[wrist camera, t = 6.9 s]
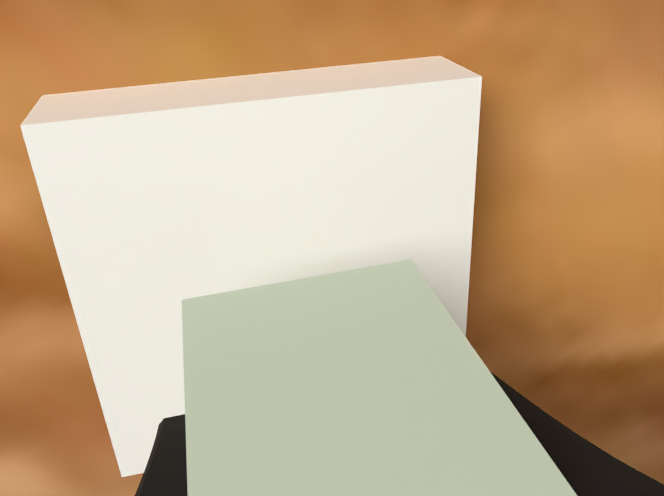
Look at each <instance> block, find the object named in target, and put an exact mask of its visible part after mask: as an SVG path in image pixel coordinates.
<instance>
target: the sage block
mask: <svg viewBox="0 0 664 496" xmlns="http://www.w3.org/2000/svg"><path fill="white" fill-rule="evenodd" d="M182 329H183V361H184V394H185V427H186V460H187V492H188V496H577V495H576V493H575V492H574V490H573V489H572V488H571V486H570V485H569V483H568V482H567V480H566V479H565V478H564V476H563V475H562V473H561V472H560V470H559V469H558V468H557V466H556V465H555V463H554V462H553V461H552V459H551V458H550V456H549V455H548V453H547V452H546V451H545V449H544V448H543V446H542V445H541V443H540V442H539V441H538V439H537V438H536V436H535V435H534V434H533V432H532V431H531V429H530V428H529V426H528V425H527V424H526V422H525V421H524V419H523V418H522V417H521V415H520V414H519V412H518V411H517V409H516V408H515V407H514V405H513V404H512V402H511V401H510V399H509V398H508V397H507V395H506V394H505V392H504V391H503V390H502V388H501V387H500V385H499V384H498V382H497V381H496V380H495V378H494V377H493V375H492V374H491V372H490V371H489V370H488V368H487V367H486V365H485V364H484V363H483V361H482V360H481V358H480V357H479V355H478V354H477V353H476V351H475V350H474V348H473V347H472V346H471V344H470V343H469V341H468V340H467V338H466V337H465V336H464V334H463V333H462V331H461V330H460V328H459V327H458V326H457V324H456V323H455V321H454V320H453V319H452V317H451V316H450V314H449V313H448V311H447V310H446V309H445V307H444V306H443V304H442V303H441V301H440V300H439V299H438V297H437V296H436V294H435V293H434V292H433V290H432V289H431V287H430V286H429V284H428V283H427V282H426V280H425V279H424V277H423V276H422V275H421V273H420V272H419V270H418V269H417V267H416V266H415V265H414V263H413V262H412V260H411V259H410V260H404V261H398V262H393V263H387V264H381V265H376V266H370V267H364V268H359V269H353V270H347V271H342V272H336V273H330V274H325V275H319V276H313V277H308V278H302V279H296V280H291V281H285V282H279V283H274V284H268V285H262V286H257V287H251V288H245V289H240V290H234V291H228V292H223V293H217V294H211V295H205V296H200V297H194V298H188V299H183V300H182Z"/></svg>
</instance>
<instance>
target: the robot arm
mask: <svg viewBox="0 0 664 496" xmlns="http://www.w3.org/2000/svg"><path fill="white" fill-rule="evenodd" d="M491 374H492V375H493V377H494V378H495V380H496V381H497V382H498V384H499V385H500V387H501V388H502V390H503V391H504V392H505V394H506V395H507V397H508V398H509V399H510V401H511V402H512V404H513V405H514V407H515V408H516V409H517V411H518V412H519V414H520V415H521V417H522V418H523V419H524V421H525V422H526V424H527V425H528V426H529V428H530V429H531V431H532V432H533V434H534V435H535V436H536V438H537V439H538V441H539V442H540V443H541V445H542V446H543V448H544V449H545V451H546V452H547V453H548V455H549V456H550V458H551V459H552V461H553V462H554V463H555V465H556V466H557V468H558V469H559V470H560V472H561V473H562V475H563V476H564V478H565V479H566V480H567V482H568V483H569V485H570V486H571V488H572V489H573V490H574V492H575V493H576V495H577V496H664V485H663V484H661V483H659V482H658V481H656V480H654V479H652V478H650V477H648V476H646V475H645V474H643V473H641V472H639V471H637V470H635V469H634V468H632V467H630V466H628V465H626V464H625V463H623V462H621V461H620V460H618V459H616V458H614V457H613V456H611V455H609V454H608V453H606V452H605V451H603V450H601V449H600V448H598V447H597V446H595V445H594V444H592V443H590V442H589V441H587V440H586V439H584V438H582V437H581V436H579V435H578V434H576V433H575V432H573V431H572V430H570V429H569V428H567V427H566V426H564V425H563V424H561V423H560V422H558V421H557V420H556V419H554V418H553V417H551V416H550V415H548V414H547V413H546V412H544V411H543V410H541V409H540V408H538V407H537V406H536V405H534V404H533V403H532V402H530V401H529V400H527V399H526V398H525V397H523V396H522V395H521V394H519V393H518V392H517V391H515V390H514V389H513V388H511V387H510V386H509V385H507V384H506V383H505V382H503V381H502V380H501V379H499V378H498V377H497V376H495V375H494V374H493V373H491ZM135 496H188V492H187V460H186V427H185V414H182V415H178V416H173V417H168V418H164V419H163V420H162V421H161V423H160V424H159V426H158V430H157V434H156V438H155V441H154V444H153V448H152V451H151V454H150V457H149V460H148V463H147V465H146V468H145V471H144V474H143V476H142V479H141V482H140V484H139V487H138V489H137V492H136V494H135Z"/></svg>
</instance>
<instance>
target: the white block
mask: <svg viewBox="0 0 664 496" xmlns="http://www.w3.org/2000/svg"><path fill="white" fill-rule="evenodd" d="M481 85H482V76H480V75H478V74H476V73H474V72H472V71H470V70H468V69H466V68H464V67H462V66H460V65H458V64H456V63H454V62H452V61H450V60H448V59H446V58H444V57H442V56H434V57H424V58H414V59H403V60H393V61H383V62H373V63H363V64H353V65H343V66H333V67H323V68H313V69H303V70H293V71H282V72H272V73H262V74H252V75H242V76H232V77H222V78H212V79H202V80H192V81H182V82H172V83H161V84H151V85H141V86H131V87H121V88H111V89H101V90H91V91H81V92H71V93H61V94H51V95H42V97H41V98H40V99H39V101H38V102H37V103H36V105H35V106H34V107H33V109H32V110H31V112H30V113H29V114H28V116H27V117H26V118H25V120H24V121H23V122H22V124H21V125H20V126H21V130H22V133H23V137H24V140H25V144H26V147H27V151H28V154H29V158H30V161H31V164H32V168H33V171H34V175H35V178H36V182H37V185H38V189H39V192H40V196H41V199H42V203H43V206H44V209H45V213H46V216H47V220H48V223H49V227H50V230H51V234H52V237H53V241H54V244H55V248H56V251H57V254H58V258H59V261H60V265H61V268H62V272H63V275H64V279H65V282H66V286H67V289H68V292H69V296H70V299H71V303H72V306H73V310H74V313H75V317H76V320H77V324H78V327H79V331H80V334H81V337H82V341H83V344H84V348H85V351H86V355H87V358H88V362H89V365H90V369H91V372H92V376H93V379H94V382H95V386H96V389H97V393H98V396H99V400H100V403H101V407H102V410H103V414H104V417H105V421H106V424H107V427H108V431H109V434H110V438H111V441H112V445H113V448H114V452H115V455H116V459H117V462H118V465H119V469H120V472H121V476H122V477H125V476H130V475H135V474H140V473H144V471H145V468H146V465H147V463H148V460H149V457H150V454H151V451H152V448H153V444H154V441H155V438H156V434H157V430H158V426H159V424H160V423H161V421H162V420H163V419H164V418H168V417H173V416H178V415H182V414H185V394H184V361H183V329H182V300H183V299H188V298H194V297H200V296H205V295H211V294H217V293H223V292H228V291H234V290H240V289H245V288H251V287H257V286H262V285H268V284H274V283H279V282H285V281H291V280H296V279H302V278H308V277H313V276H319V275H325V274H330V273H336V272H342V271H347V270H353V269H359V268H364V267H370V266H376V265H381V264H387V263H393V262H398V261H404V260H410V259H411V260H412V262H413V263H414V265H415V266H416V267H417V269H418V270H419V272H420V273H421V275H422V276H423V277H424V279H425V280H426V282H427V283H428V284H429V286H430V287H431V289H432V290H433V292H434V293H435V294H436V296H437V297H438V299H439V300H440V301H441V303H442V304H443V306H444V307H445V309H446V310H447V311H448V313H449V314H450V316H451V317H452V319H453V320H454V321H455V323H456V324H457V326H458V327H459V328H460V330H461V331H462V333H463V334H464V336H465V337H466V324H467V308H468V292H469V276H470V260H471V244H472V228H473V213H474V197H475V181H476V165H477V149H478V133H479V117H480V101H481Z"/></svg>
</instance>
